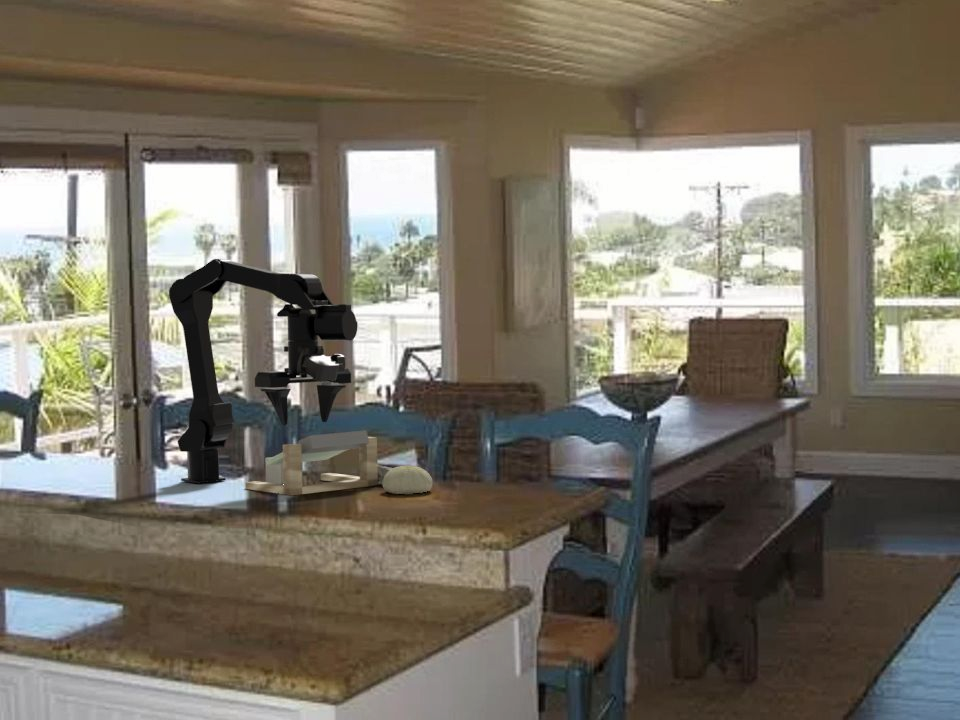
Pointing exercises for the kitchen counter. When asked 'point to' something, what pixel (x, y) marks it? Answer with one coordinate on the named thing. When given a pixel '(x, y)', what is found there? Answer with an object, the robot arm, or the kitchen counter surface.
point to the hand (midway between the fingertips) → (304, 423)
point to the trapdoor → (325, 446)
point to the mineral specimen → (382, 473)
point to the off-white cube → (274, 473)
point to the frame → (338, 481)
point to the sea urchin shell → (407, 480)
